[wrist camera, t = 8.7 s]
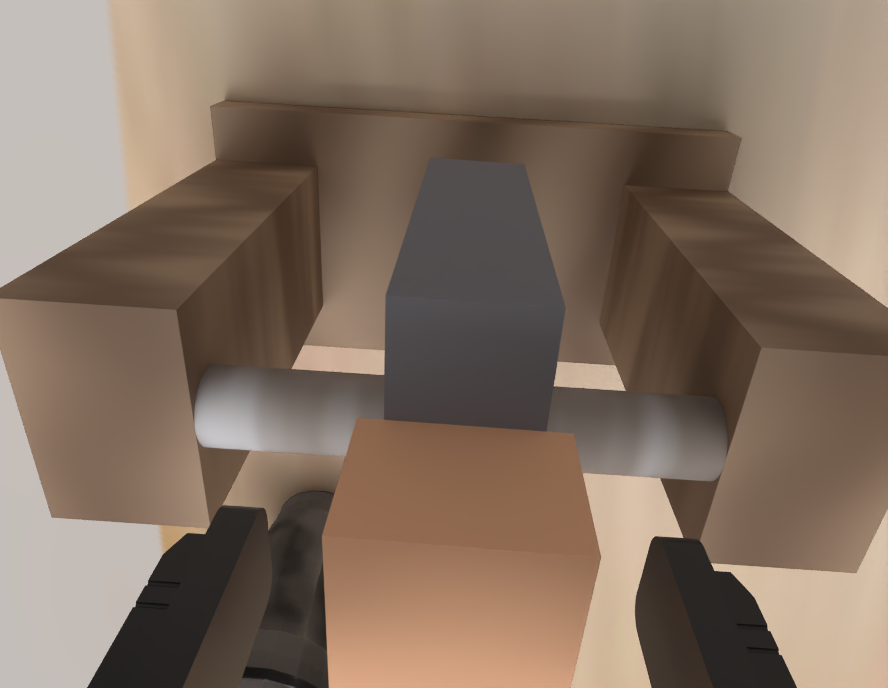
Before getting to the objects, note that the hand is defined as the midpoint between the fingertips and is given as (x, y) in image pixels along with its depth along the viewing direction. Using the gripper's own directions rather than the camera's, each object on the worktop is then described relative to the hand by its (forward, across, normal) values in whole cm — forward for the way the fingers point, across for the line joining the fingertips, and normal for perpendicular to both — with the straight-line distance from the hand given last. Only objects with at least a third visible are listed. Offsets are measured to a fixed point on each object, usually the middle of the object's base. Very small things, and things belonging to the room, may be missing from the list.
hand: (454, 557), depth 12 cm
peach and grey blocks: (+12, 0, 0) cm, 12 cm away
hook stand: (+18, 0, 0) cm, 18 cm away
